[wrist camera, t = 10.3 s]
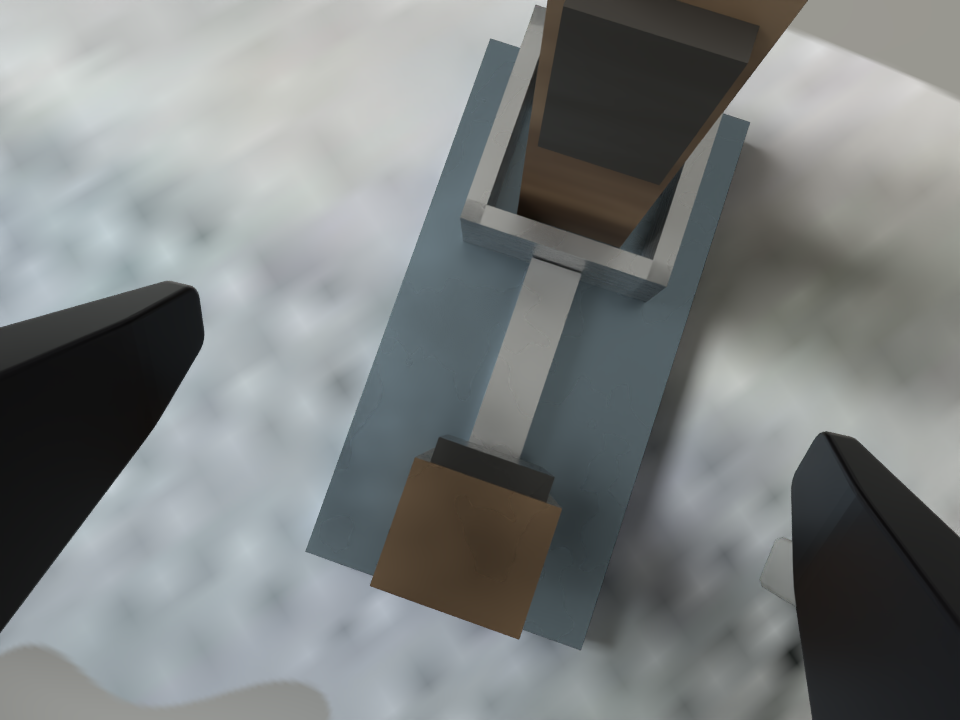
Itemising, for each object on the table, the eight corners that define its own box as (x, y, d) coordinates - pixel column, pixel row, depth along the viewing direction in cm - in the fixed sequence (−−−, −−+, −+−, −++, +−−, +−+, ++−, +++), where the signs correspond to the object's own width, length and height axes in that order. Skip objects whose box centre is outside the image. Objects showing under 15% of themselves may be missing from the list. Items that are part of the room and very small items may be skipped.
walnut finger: (614, 265, 22) (845, -21, 8) (510, 231, 22) (553, -110, 8) (656, 134, 22) (948, -363, 8) (555, 102, 22) (670, -442, 8)
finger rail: (575, 637, 22) (619, 743, 15) (315, 544, 22) (232, 603, 15) (736, 137, 23) (847, 10, 16) (490, 57, 24) (491, -102, 16)
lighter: (757, 584, 22) (912, 677, 14) (777, 535, 22) (942, 598, 14) (963, 678, 22) (1244, 829, 14) (983, 628, 22) (1271, 747, 14)
